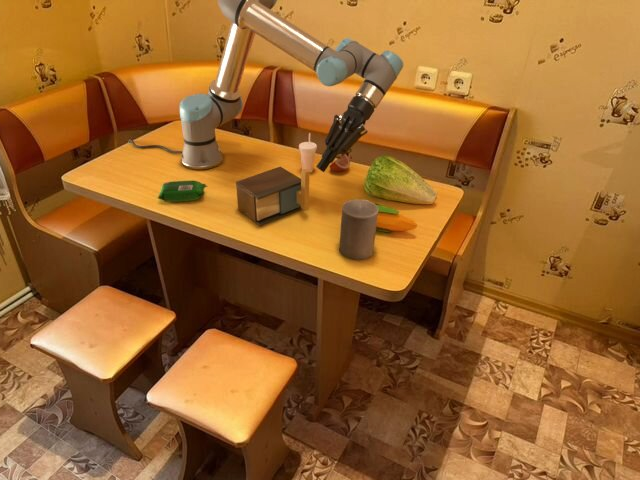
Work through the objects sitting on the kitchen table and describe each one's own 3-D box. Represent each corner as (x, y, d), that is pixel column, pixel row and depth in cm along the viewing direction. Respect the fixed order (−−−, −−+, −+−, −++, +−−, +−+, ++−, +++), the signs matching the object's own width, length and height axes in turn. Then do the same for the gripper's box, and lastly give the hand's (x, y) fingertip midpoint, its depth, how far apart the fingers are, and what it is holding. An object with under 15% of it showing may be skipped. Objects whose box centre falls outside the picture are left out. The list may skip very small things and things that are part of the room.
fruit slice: (337, 163, 183) (338, 151, 180) (353, 168, 180) (354, 155, 177) (325, 172, 178) (326, 159, 175) (342, 177, 175) (342, 164, 171)
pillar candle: (335, 256, 138) (337, 209, 128) (344, 237, 145) (347, 192, 136) (369, 263, 135) (375, 216, 126) (377, 243, 142) (382, 197, 133)
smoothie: (316, 174, 176) (317, 137, 168) (298, 174, 177) (298, 137, 168) (316, 166, 181) (317, 129, 173) (298, 166, 182) (298, 129, 173)
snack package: (206, 202, 162) (204, 188, 159) (158, 204, 161) (155, 190, 158) (207, 192, 168) (206, 178, 165) (161, 194, 167) (158, 180, 164)
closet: (238, 209, 158) (235, 181, 152) (280, 193, 166) (280, 166, 160) (259, 226, 150) (258, 197, 144) (303, 208, 158) (304, 180, 152)
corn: (355, 194, 149) (422, 206, 143) (353, 215, 154) (418, 228, 148) (347, 207, 144) (416, 221, 138) (346, 228, 149) (413, 242, 143)
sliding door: (280, 213, 154) (279, 172, 146) (300, 204, 158) (301, 164, 149) (289, 219, 151) (289, 178, 142) (310, 211, 155) (311, 170, 146)
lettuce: (434, 204, 147) (450, 166, 151) (361, 178, 153) (378, 141, 156) (425, 224, 160) (440, 188, 164) (358, 200, 166) (375, 165, 170)
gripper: (386, 115, 146) (340, 182, 148) (355, 103, 154) (312, 167, 157) (375, 101, 140) (327, 171, 143) (344, 89, 148) (299, 156, 151)
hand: (320, 169), depth 150 cm, fingers closed
